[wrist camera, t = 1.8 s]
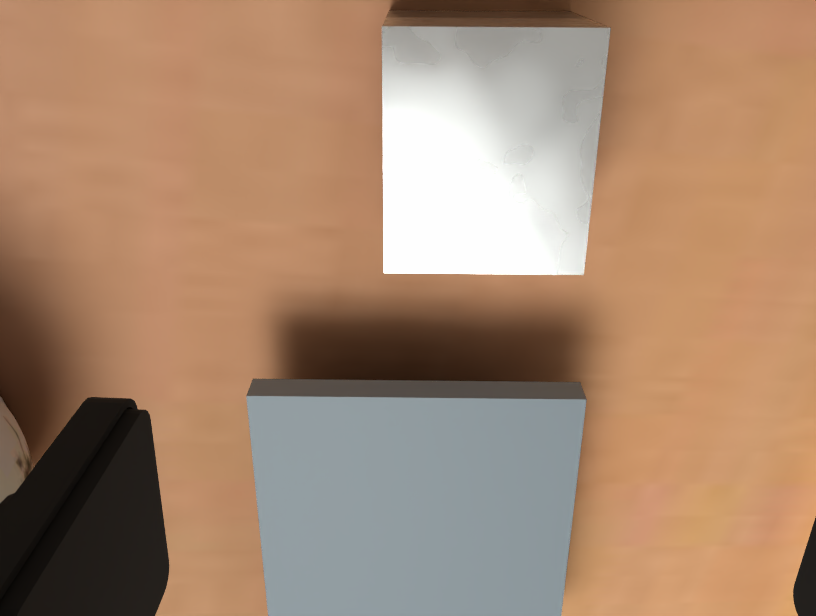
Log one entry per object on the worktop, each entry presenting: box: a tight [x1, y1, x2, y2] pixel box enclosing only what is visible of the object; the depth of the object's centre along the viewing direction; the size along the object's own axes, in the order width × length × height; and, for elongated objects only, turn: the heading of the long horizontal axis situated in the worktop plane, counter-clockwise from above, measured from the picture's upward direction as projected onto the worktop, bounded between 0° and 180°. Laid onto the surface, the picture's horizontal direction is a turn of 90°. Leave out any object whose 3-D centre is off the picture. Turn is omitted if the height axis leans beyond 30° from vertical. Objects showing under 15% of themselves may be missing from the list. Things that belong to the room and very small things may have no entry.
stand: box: [246, 379, 586, 616], centre depth 32 cm, size 14×12×4 cm
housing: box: [382, 10, 611, 275], centre depth 25 cm, size 7×6×6 cm
